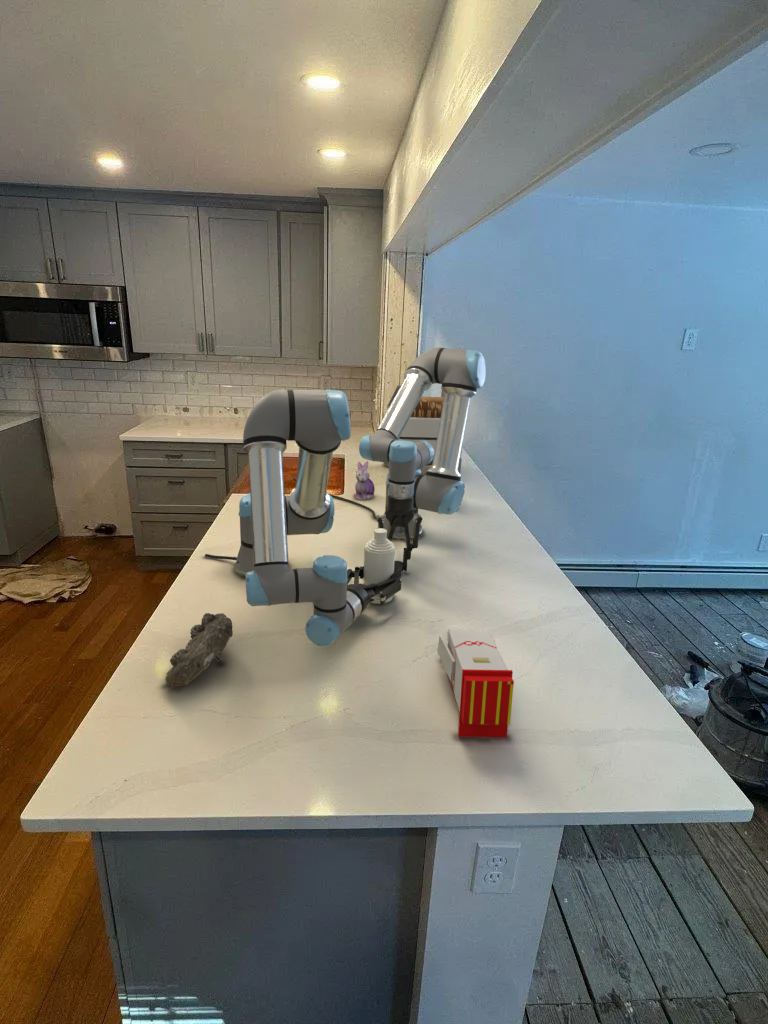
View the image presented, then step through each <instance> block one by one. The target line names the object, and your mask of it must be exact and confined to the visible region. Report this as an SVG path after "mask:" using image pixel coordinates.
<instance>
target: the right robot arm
mask: <svg viewBox="0 0 768 1024" xmlns="http://www.w3.org/2000/svg"><path fill="white" fill-rule="evenodd" d="M484 357H485V356H484V355H483V354H482V353H481V352H480V351H479V350H473V349H469V348H468V349H465V348H464V349H463V348H449V347H433V348H430V349H428V350H426V351H424V352H422V353H421V354H419V355H418V356H417V357H416V358H414V360H413V361H412V362H411V363H410V365H408V367H407V368H406V370H405V372H404V374H403V381H402V383H401V385H400V386H401V387H400V389H399V390H398V392H397V394H396V396H395V398H394V399H393V401H392V403H391V405H390V406H389V408H388V410H387V409H386V412H385V414H384V416H383V417H382V419H381V421H380V423H379V424H378V426H377V428H376V430H375V431H374V433H373V434H366V435H364V436H362V437H361V439H360V441H359V445H358V452H359V455H360V456H361V458H362V459H364V460H367V461H372V462H376V463H377V462H378V463H389V467H388V473H387V475H386V480H385V504H384V505H385V507H384V508H385V509H384V513H383V514H381V515H380V514H379V515H378V514H377V515H376V513H375V511H374V510H373V509H372V508H370V507H368V506H367V505H364V504H362V503H359V502H356V501H354V500H351V499H348V498H345V497H342V496H338V495H335V494H331V493H328V494H329V495H331V496H332V498H333V499H334V498H335V499H338V500H340V501H345V502H348V503H350V504H354V505H356V506H359V507H361V508H364V509H366V510H367V511H369V512H370V513H372V517H373V519H375V520H377V529H378V528H383V529H386V530H387V536H386V538H387V539H388V540H389V541H390V542H392V541H393V540H395V541H405V546H406V547H403V554H402V562H403V563H404V571H403V572H407V571H408V561H410V560H411V559H412V551H413V550H414V549H418V548H419V541H420V540H419V538H420V537H421V536H422V535H423V525H422V521H423V517H422V515H420V514H419V510H421V511H422V510H423V511H427V512H432V513H437V514H439V515H442V514H443V515H453V514H455V513H456V512H457V511H458V509H459V508H460V506H461V505H462V502H463V499H464V496H465V489H466V485H465V483H464V482H463V481H462V480H461V479H462V475H461V474H459V472H458V465H459V459H460V454H461V455H462V453H461V448H462V449H463V442H464V437H465V431H466V425H467V421H468V414H469V409H470V403H471V399H472V398H473V397H475V396H476V395H477V392H478V391H477V390H478V389H482V388H483V387H484V384H485V381H486V375H487V374H486V373H487V371H486V359H485V358H484ZM435 384H439V385H441V387H440V389H441V392H442V391H443V392H444V394H445V396H444V402H443V407H442V413H441V419H440V424H439V430H438V436H437V441H436V447H435V453H434V449H433V447H432V445H431V444H430V443H428V442H427V441H416V442H411V441H403V440H398V439H399V437H400V435H401V434H402V432H403V430H404V428H405V426H406V424H407V422H408V421H409V419H410V417H411V415H412V413H413V411H414V409H415V408H416V406H417V404H418V402H419V400H420V398H421V397H423V395H424V393H425V391H428V390H429V389H430V388H431V386H432V385H435ZM433 457H434V459H433ZM432 460H433V464H432V465H431V466H430V467H429V468H428V469H427V470H426V473H425V474H422V470H421V469H422V468H424V467H427V466H426V465H427V464H429V463H430V462H431V461H432ZM292 480H293V481H294V482H295V483H296V478H295V477H292ZM460 504H461V505H460ZM411 540H412V541H411Z"/></svg>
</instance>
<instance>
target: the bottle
mask: <svg viewBox="0 0 768 1024" xmlns="http://www.w3.org/2000/svg"><path fill="white" fill-rule="evenodd" d="M373 533H374V536H373V538H372V539H370V540H368V541H367V542H366V543H365V545H364V553H363V566H364V577H363V578H362V584H364V585H370V584H373V583H374V584H378V583H380V582H383V581H386V580H388V579H390V576H391V575H392V574H393V573H394V562H395V561H396V545H395V544H394V543H393V542H392V541H391V542H390V541H389V540H388V539H387V538H386V536H387V530H386V529H383V528H378V527H377V528H375V529H374V530H373ZM393 597H394V595H393V596H391V597H390V598H388V599H387V600H386V601H385V603H384V604H387V603H390V602H391V601H392V600H393ZM369 604H376V605H382V604H381V603H380V601H379V600H374V601H372V602H370V603H369Z"/></svg>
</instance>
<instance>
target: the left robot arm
mask: <svg viewBox="0 0 768 1024" xmlns="http://www.w3.org/2000/svg"><path fill="white" fill-rule="evenodd" d="M351 427H352V425H351V414H350V406H349V400H348V398H347V395H346V393H344V391H342V390H337V389H329V388H328V389H276V390H271V392H268V393H267V394H265V395H263V397H261V398H260V399H259V400H258V401H257V402H256V404H255V405H254V406H253V408H252V409H251V411H250V413H249V415H248V417H247V419H246V422H245V424H244V428H243V429H244V430H243V433H242V444H243V445H242V447H243V450H244V452H245V453H246V454H247V456H248V471H249V472H248V473H249V492H248V493H247V494H244V495H243V496H242V497H241V499H240V500H239V505H238V508H239V510H238V516H239V532H240V533H239V534H240V535H239V536H240V546H239V550H238V552H237V556H227V555H224V556H223V555H215V554H209V553H205V554H204V557H206V558H209V559H216V560H229V561H235V564H234V565H235V566H234V567H235V572H236V573H237V574H238V575H240V576H241V577H244V578H245V592H246V593H245V595H246V603H247V604H248V605H249V606H250V607H261V606H263V607H264V606H266V607H271V606H276V605H285V604H286V605H287V604H301V603H312V608H313V612H312V615H311V616H310V617H309V618H308V620H307V621H306V623H305V626H304V631H305V635H306V637H307V638H308V640H309V641H310V642H311V643H312V644H314V645H316V646H318V647H321V648H322V647H323V648H324V647H328V646H330V645H332V644H333V643H334V642H335V641H337V640H338V639H339V638H340V637H341V636H342V634H344V633H345V632H346V630H347V629H348V628H349V627H350V625H352V624H353V623H354V621H356V619H358V617H359V616H360V615H361V614H362V613H363V612H364V611H365V610H366V609H367V608H368V606H369V604H371V603H370V602H372V601H374V600H379V601H380V603H381V604H380V605H385V604H386V603H385V601H386V600H387V599H388V598H390V597H391V596H393V597H394V596H395V595H396V594H397V593H399V592H400V591H402V583H403V582H402V580H401V577H402V573H403V571H402V567H399V568H398V569H397V570H396V571H395V572H394V573H393V574H392V575H391V576H390V579H388V580H386V581H383V582H380V583H378V584H374V583H373V584H370V585H364V584H363V583H360V579H361V580H363V577H364V565H363V566H355V567H354V570H353V569H352V568H348V564H347V562H346V560H345V559H344V558H342V557H341V556H337V555H334V554H326V555H322V556H318V557H317V558H315V559H314V561H313V563H312V567H300V568H290V564H289V547H288V536H301V535H320V534H326V533H328V532H330V530H331V529H332V528H333V524H334V521H335V503H334V497H332V496H331V495H329V494H330V493H328V492H327V491H328V485H329V479H330V472H331V467H332V461H333V455H334V454H333V453H334V452H335V451H337V450H338V449H339V447H340V445H341V443H342V442H343V441H348V440H350V439H351V436H352V435H351V434H352V433H351V431H352V429H351ZM287 441H288V442H289V441H290V442H292V441H294V442H295V443H296V445H297V446H298V456H297V457H298V458H297V469H296V478H295V479H296V482H295V487H294V488H293V489H292V490H291V492H290V494H289V495H286V493H285V492H286V491H285V474H284V473H285V472H284V458H283V457H284V455H283V454H284V452H285V451H286V450H287V448H288V447H287ZM352 579H353V583H350V582H351V581H352Z"/></svg>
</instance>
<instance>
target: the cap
mask: <svg viewBox="0 0 768 1024" xmlns="http://www.w3.org/2000/svg"><path fill="white" fill-rule="evenodd" d="M399 567H402V572H405V571H404V563H403V561H400V560H395V562H394V572H395V571H396V570H397V569H398V568H399Z"/></svg>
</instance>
